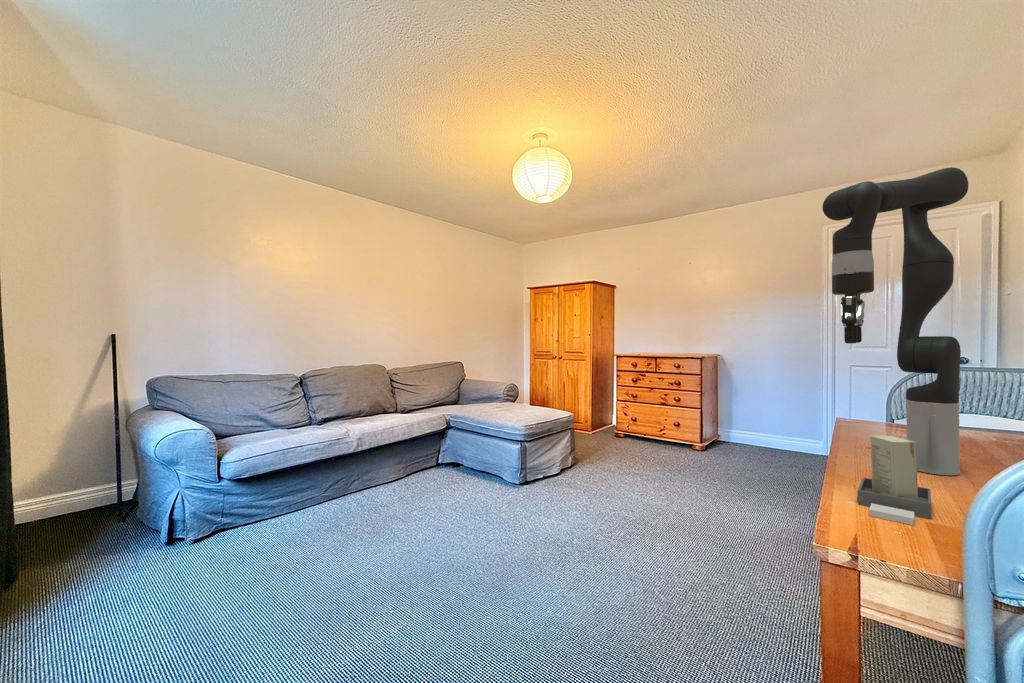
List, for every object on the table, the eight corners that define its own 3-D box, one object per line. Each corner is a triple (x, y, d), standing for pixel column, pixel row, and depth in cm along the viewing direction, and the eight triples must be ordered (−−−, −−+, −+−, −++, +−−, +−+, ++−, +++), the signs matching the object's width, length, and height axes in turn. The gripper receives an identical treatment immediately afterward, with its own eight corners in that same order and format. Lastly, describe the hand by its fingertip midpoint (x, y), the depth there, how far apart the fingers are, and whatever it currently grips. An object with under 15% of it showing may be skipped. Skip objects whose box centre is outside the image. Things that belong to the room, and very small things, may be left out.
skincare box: (919, 505, 80) (918, 442, 80) (894, 504, 80) (893, 442, 80) (892, 493, 86) (892, 434, 86) (870, 492, 87) (869, 434, 87)
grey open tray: (863, 490, 90) (862, 477, 90) (930, 502, 83) (930, 488, 83) (854, 512, 79) (854, 497, 79) (931, 529, 72) (931, 513, 72)
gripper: (836, 277, 103) (837, 342, 103) (826, 271, 93) (828, 343, 93) (876, 274, 98) (877, 342, 98) (870, 267, 88) (872, 343, 88)
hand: (853, 343), depth 96 cm, fingers open, 8 cm apart
